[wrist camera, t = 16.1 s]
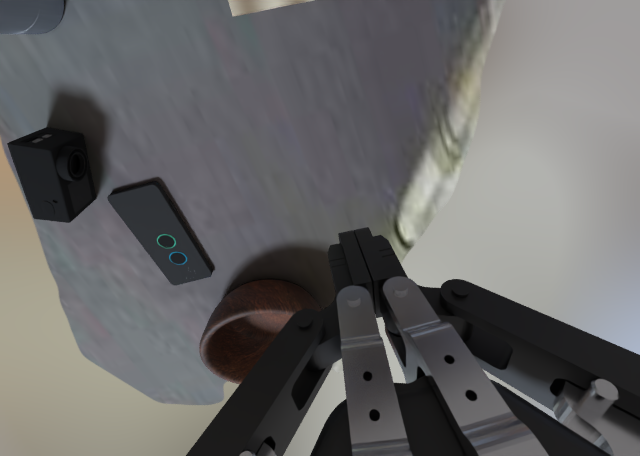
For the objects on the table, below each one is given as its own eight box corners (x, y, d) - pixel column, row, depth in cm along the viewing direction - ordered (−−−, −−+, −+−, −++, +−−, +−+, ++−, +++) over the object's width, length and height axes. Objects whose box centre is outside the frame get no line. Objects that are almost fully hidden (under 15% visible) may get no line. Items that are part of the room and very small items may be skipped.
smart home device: (172, 286, 55) (103, 197, 43) (174, 280, 56) (109, 192, 45) (213, 276, 54) (155, 183, 43) (215, 270, 56) (159, 178, 44)
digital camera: (105, 200, 45) (80, 225, 39) (65, 195, 44) (33, 220, 38) (93, 135, 40) (61, 152, 34) (47, 127, 38) (5, 143, 33)
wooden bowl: (210, 262, 54) (198, 305, 46) (337, 273, 60) (346, 313, 51) (209, 343, 67) (198, 387, 59) (312, 346, 73) (317, 387, 64)
